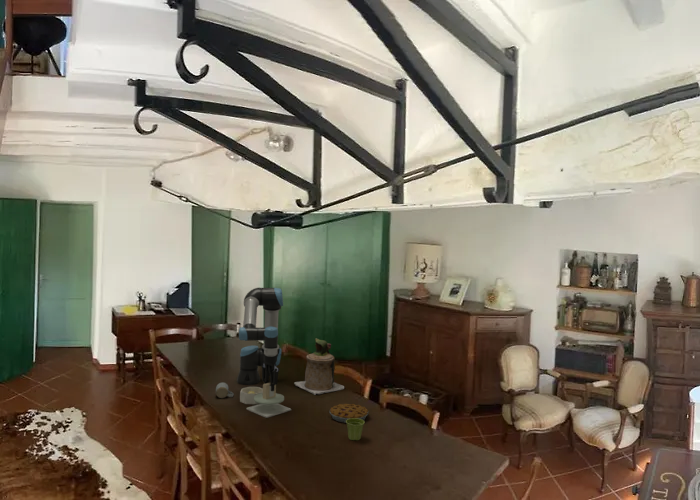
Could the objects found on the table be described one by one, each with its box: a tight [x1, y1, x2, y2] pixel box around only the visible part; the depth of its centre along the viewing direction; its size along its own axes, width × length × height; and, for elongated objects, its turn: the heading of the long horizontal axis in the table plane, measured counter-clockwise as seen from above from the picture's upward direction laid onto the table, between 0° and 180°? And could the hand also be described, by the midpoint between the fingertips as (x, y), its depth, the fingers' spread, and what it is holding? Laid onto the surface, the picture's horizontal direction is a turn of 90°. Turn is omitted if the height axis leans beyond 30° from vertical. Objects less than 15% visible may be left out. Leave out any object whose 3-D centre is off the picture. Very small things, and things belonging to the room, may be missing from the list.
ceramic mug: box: [215, 382, 235, 399], centre depth 330 cm, size 11×8×8 cm
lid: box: [254, 382, 285, 405], centre depth 310 cm, size 17×17×9 cm
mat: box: [246, 403, 292, 419], centre depth 310 cm, size 18×18×1 cm
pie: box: [329, 403, 369, 424], centre depth 304 cm, size 22×22×5 cm
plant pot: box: [346, 418, 366, 441], centre depth 275 cm, size 9×9×9 cm
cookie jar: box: [294, 338, 345, 396], centre depth 354 cm, size 25×25×32 cm
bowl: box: [239, 386, 263, 405], centre depth 325 cm, size 14×14×6 cm
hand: (269, 395), depth 310 cm, fingers closed on lid, 3 cm apart
